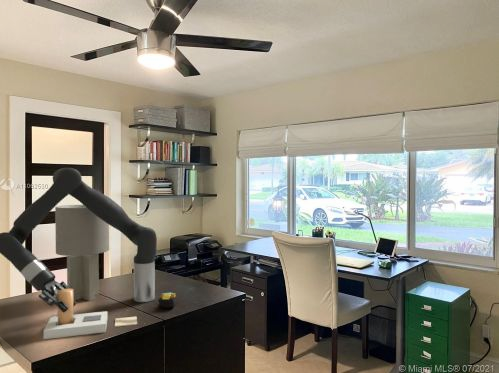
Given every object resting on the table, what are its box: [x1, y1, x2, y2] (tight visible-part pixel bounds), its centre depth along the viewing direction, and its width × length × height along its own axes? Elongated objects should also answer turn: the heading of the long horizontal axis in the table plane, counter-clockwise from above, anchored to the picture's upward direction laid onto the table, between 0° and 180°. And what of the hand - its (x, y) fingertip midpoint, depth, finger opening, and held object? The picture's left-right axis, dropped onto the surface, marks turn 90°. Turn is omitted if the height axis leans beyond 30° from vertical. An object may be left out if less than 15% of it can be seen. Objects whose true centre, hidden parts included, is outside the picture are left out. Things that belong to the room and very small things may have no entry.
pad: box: [114, 316, 138, 328], centre depth 147 cm, size 8×8×1 cm
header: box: [43, 310, 108, 340], centre depth 141 cm, size 14×20×3 cm
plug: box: [57, 289, 74, 325], centre depth 140 cm, size 5×5×12 cm
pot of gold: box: [157, 292, 178, 309], centre depth 167 cm, size 6×13×6 cm, turn 0°
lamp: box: [54, 204, 110, 302], centre depth 178 cm, size 23×23×43 cm
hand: (70, 307), depth 139 cm, fingers closed on plug, 5 cm apart
